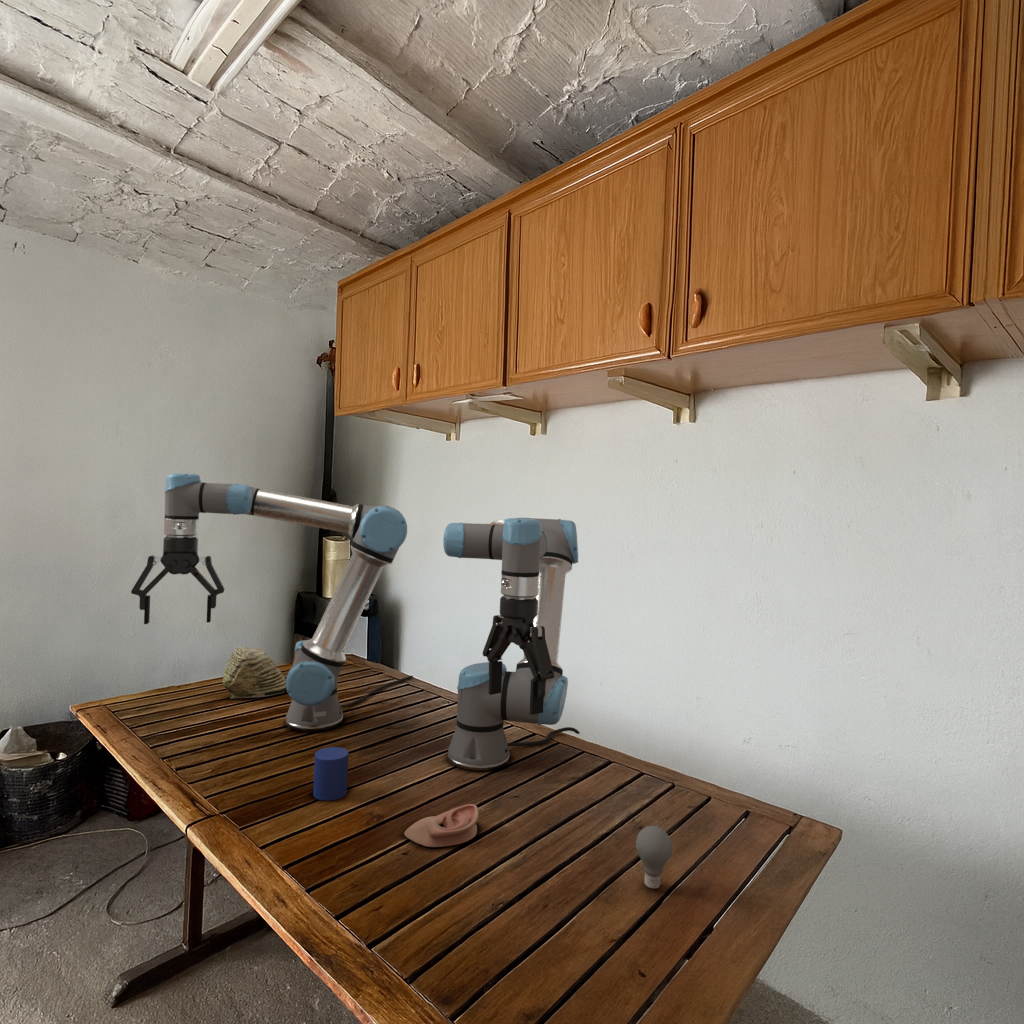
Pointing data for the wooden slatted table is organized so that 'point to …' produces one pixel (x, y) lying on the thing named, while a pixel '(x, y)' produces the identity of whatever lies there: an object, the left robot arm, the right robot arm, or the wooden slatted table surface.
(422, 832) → the anatomical model
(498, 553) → the right robot arm
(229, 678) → the fossil
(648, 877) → the light bulb
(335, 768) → the canister
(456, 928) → the wooden slatted table surface
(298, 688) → the left robot arm
